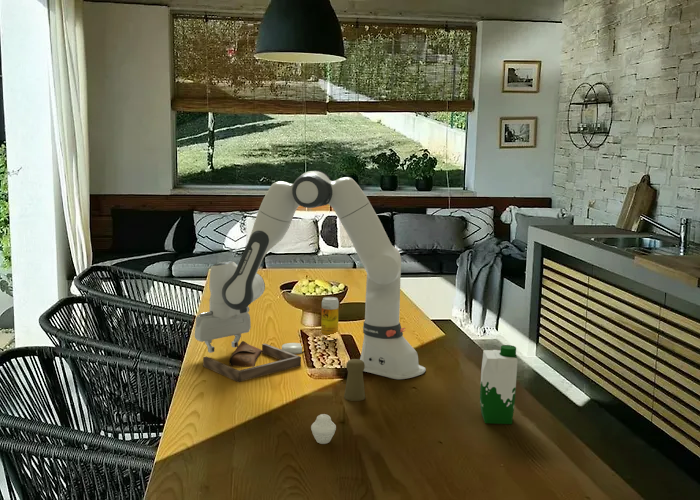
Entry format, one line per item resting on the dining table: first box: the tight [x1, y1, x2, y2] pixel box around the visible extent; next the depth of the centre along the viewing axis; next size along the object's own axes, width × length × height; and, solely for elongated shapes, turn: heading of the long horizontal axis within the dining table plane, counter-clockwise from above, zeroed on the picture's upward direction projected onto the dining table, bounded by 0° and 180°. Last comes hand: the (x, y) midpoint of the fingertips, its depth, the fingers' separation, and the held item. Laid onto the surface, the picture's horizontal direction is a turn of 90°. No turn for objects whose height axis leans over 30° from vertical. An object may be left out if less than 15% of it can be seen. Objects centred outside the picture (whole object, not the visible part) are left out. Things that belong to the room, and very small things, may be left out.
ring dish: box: [281, 342, 302, 355], centre depth 258 cm, size 8×8×2 cm
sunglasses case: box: [228, 340, 263, 368], centre depth 248 cm, size 18×7×7 cm, turn 178°
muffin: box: [310, 413, 337, 445], centre depth 184 cm, size 6×6×7 cm
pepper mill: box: [343, 358, 366, 402], centre depth 214 cm, size 6×6×11 cm
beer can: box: [320, 296, 340, 335], centre depth 272 cm, size 6×6×15 cm
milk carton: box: [479, 344, 519, 425], centre depth 200 cm, size 9×9×20 cm
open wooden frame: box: [202, 343, 302, 383], centre depth 240 cm, size 19×24×3 cm
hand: (223, 349), depth 252 cm, fingers open, 8 cm apart
